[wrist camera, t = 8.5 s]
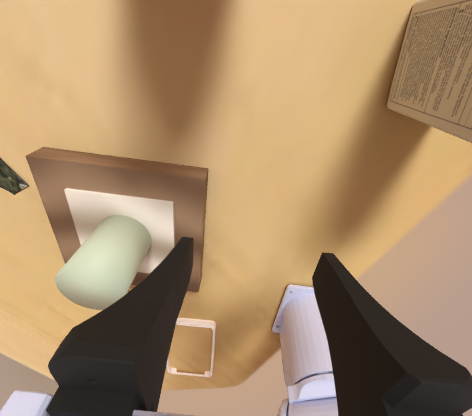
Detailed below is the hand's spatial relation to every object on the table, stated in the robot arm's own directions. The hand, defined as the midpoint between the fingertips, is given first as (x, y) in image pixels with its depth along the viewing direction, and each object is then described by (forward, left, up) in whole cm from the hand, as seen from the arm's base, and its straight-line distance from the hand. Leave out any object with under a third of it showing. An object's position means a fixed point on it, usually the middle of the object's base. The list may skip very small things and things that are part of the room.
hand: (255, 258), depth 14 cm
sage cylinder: (-6, +11, -7) cm, 14 cm away
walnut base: (-6, +11, -9) cm, 16 cm away
